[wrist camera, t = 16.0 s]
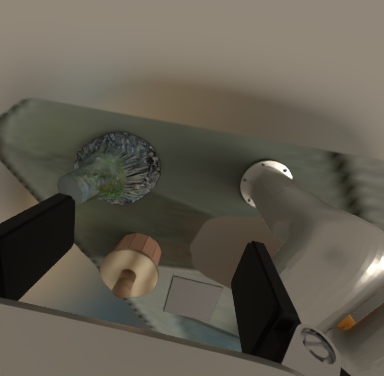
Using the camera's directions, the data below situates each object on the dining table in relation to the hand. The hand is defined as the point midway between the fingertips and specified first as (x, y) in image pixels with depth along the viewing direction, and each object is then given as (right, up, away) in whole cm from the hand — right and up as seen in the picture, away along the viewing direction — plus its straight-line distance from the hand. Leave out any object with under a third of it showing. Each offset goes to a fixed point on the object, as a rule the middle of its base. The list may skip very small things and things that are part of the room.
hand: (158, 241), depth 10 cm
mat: (+2, -34, +53) cm, 63 cm away
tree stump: (-16, +8, +39) cm, 43 cm away
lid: (-14, -19, +40) cm, 47 cm away
